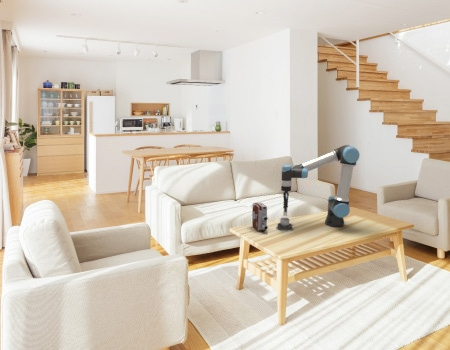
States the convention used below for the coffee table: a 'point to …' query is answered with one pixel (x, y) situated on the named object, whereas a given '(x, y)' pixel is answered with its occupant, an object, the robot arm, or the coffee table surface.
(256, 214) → the cine camera
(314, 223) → the coffee table surface
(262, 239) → the coffee table surface
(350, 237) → the coffee table surface
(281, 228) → the lens barrel
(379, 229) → the coffee table surface
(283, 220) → the grey cube
